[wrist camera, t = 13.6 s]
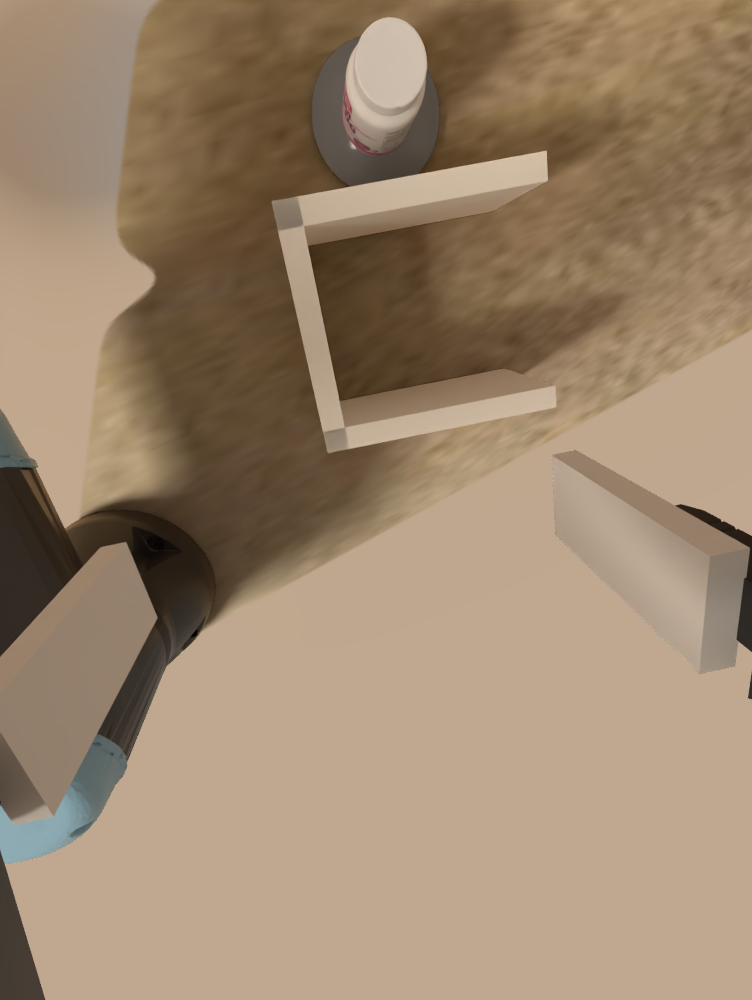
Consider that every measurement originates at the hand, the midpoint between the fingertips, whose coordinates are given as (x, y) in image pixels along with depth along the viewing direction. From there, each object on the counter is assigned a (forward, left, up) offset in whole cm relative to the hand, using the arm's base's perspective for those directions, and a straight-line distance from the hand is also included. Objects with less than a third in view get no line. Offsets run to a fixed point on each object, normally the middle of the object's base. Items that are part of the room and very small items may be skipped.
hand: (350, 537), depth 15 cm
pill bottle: (+7, +18, -28) cm, 34 cm away
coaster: (+7, +18, -29) cm, 35 cm away
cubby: (+7, +5, -29) cm, 30 cm away
